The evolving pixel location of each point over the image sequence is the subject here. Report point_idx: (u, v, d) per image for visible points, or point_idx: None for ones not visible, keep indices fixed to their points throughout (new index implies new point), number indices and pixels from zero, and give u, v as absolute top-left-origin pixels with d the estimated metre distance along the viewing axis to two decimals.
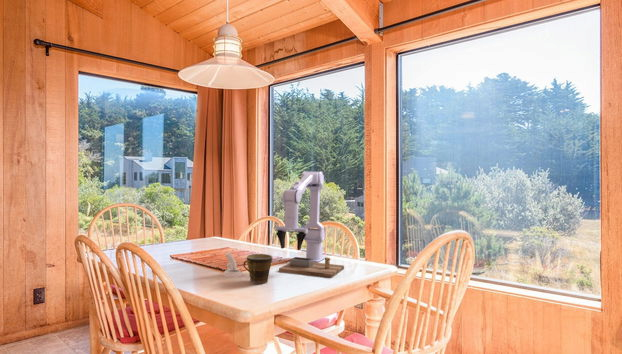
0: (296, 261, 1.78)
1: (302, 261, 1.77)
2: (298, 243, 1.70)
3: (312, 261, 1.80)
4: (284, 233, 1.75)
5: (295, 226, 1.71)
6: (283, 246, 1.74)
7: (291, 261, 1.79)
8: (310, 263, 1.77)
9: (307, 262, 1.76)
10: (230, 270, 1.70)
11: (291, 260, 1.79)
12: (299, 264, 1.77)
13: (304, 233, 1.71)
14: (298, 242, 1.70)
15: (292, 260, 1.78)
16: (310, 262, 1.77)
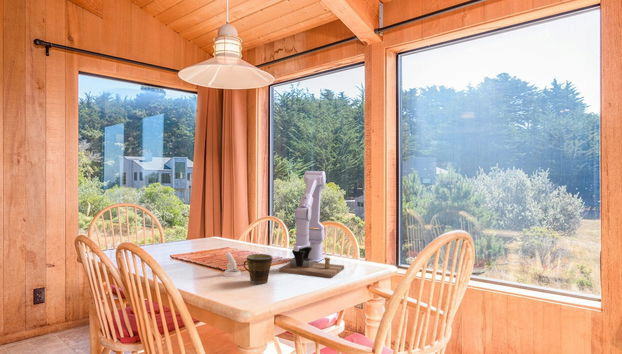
0: None
1: None
2: None
3: (312, 261, 1.80)
4: (306, 249, 1.82)
5: (297, 243, 1.78)
6: None
7: (291, 261, 1.79)
8: (310, 263, 1.77)
9: (307, 262, 1.76)
10: (230, 270, 1.70)
11: (291, 260, 1.79)
12: None
13: None
14: None
15: (292, 260, 1.78)
16: (310, 262, 1.77)
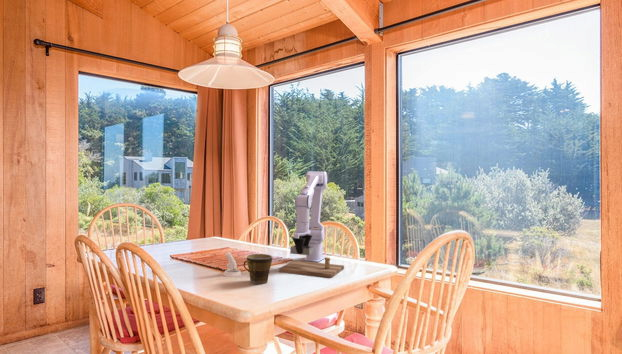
0: None
1: None
2: None
3: (312, 249, 1.80)
4: (307, 237, 1.82)
5: (297, 230, 1.78)
6: None
7: (291, 249, 1.79)
8: (310, 251, 1.77)
9: (307, 249, 1.76)
10: (230, 270, 1.70)
11: (291, 248, 1.79)
12: None
13: (297, 238, 1.75)
14: None
15: (292, 248, 1.79)
16: (310, 250, 1.77)
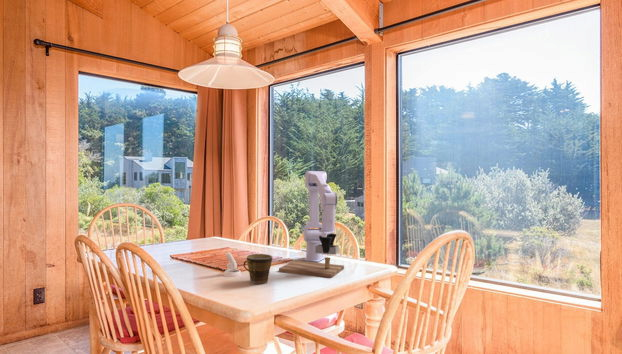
0: (322, 248, 1.73)
1: None
2: None
3: (337, 248, 1.76)
4: (331, 236, 1.78)
5: (323, 229, 1.73)
6: None
7: (316, 248, 1.74)
8: (336, 250, 1.73)
9: (334, 249, 1.72)
10: (230, 270, 1.70)
11: (316, 247, 1.74)
12: None
13: None
14: None
15: (317, 247, 1.74)
16: (336, 249, 1.73)
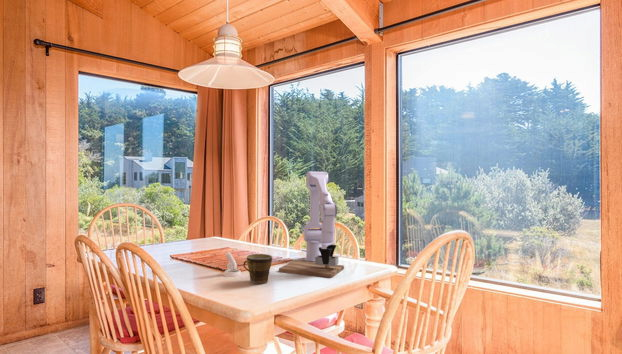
0: None
1: None
2: None
3: (337, 259, 1.76)
4: (331, 247, 1.78)
5: (323, 240, 1.73)
6: None
7: (316, 260, 1.74)
8: (336, 261, 1.73)
9: (333, 260, 1.72)
10: (230, 270, 1.70)
11: (316, 258, 1.74)
12: None
13: None
14: None
15: (317, 258, 1.74)
16: (336, 260, 1.73)
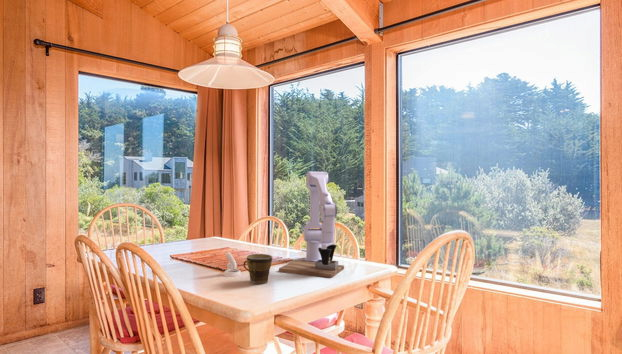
0: (322, 264, 1.73)
1: (328, 264, 1.73)
2: None
3: (337, 263, 1.76)
4: (332, 247, 1.79)
5: (323, 240, 1.73)
6: None
7: (316, 264, 1.74)
8: (336, 266, 1.73)
9: (333, 265, 1.72)
10: (230, 270, 1.70)
11: (316, 263, 1.74)
12: (325, 267, 1.73)
13: (324, 249, 1.70)
14: None
15: (317, 263, 1.74)
16: (336, 265, 1.73)
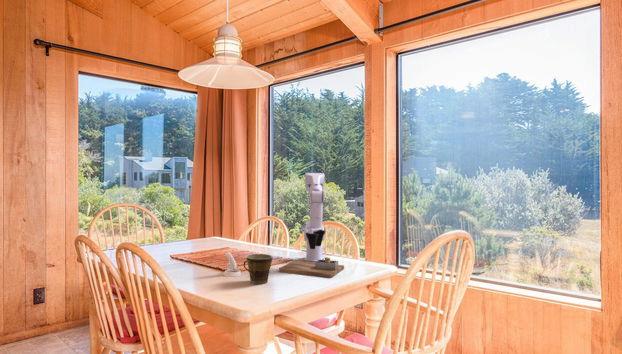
0: (322, 264, 1.73)
1: (328, 264, 1.73)
2: None
3: (337, 263, 1.76)
4: (320, 232, 1.86)
5: (311, 225, 1.81)
6: (318, 244, 1.86)
7: (316, 264, 1.74)
8: (336, 266, 1.73)
9: (333, 265, 1.72)
10: (230, 270, 1.70)
11: (316, 263, 1.74)
12: (325, 267, 1.73)
13: None
14: None
15: (317, 263, 1.74)
16: (336, 265, 1.73)
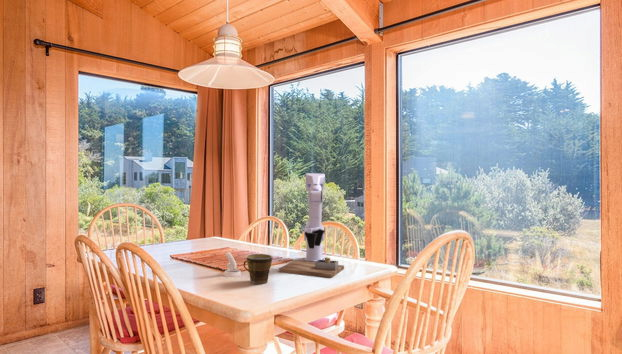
0: (322, 264, 1.73)
1: (328, 264, 1.73)
2: None
3: (337, 263, 1.76)
4: (319, 232, 1.86)
5: (310, 225, 1.81)
6: (317, 244, 1.86)
7: (316, 264, 1.74)
8: (336, 266, 1.73)
9: (333, 265, 1.72)
10: (230, 270, 1.70)
11: (316, 263, 1.74)
12: (325, 267, 1.73)
13: (309, 233, 1.77)
14: None
15: (317, 263, 1.74)
16: (336, 265, 1.73)
